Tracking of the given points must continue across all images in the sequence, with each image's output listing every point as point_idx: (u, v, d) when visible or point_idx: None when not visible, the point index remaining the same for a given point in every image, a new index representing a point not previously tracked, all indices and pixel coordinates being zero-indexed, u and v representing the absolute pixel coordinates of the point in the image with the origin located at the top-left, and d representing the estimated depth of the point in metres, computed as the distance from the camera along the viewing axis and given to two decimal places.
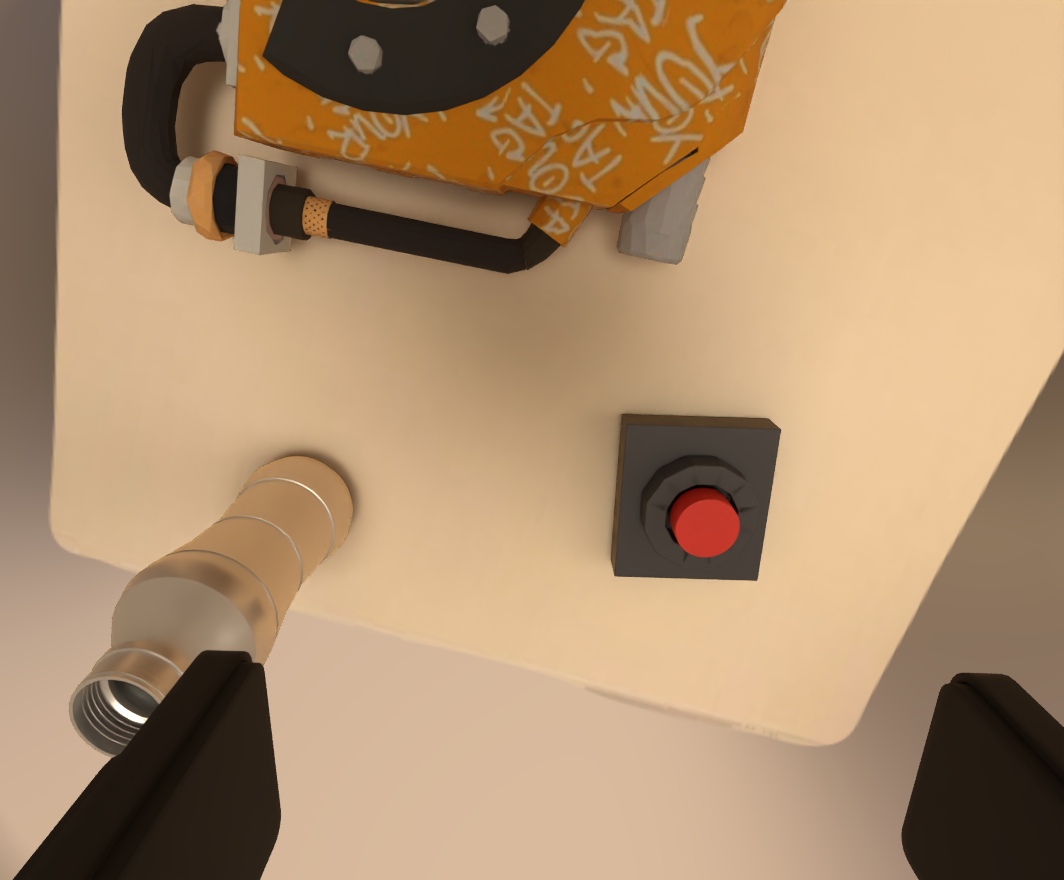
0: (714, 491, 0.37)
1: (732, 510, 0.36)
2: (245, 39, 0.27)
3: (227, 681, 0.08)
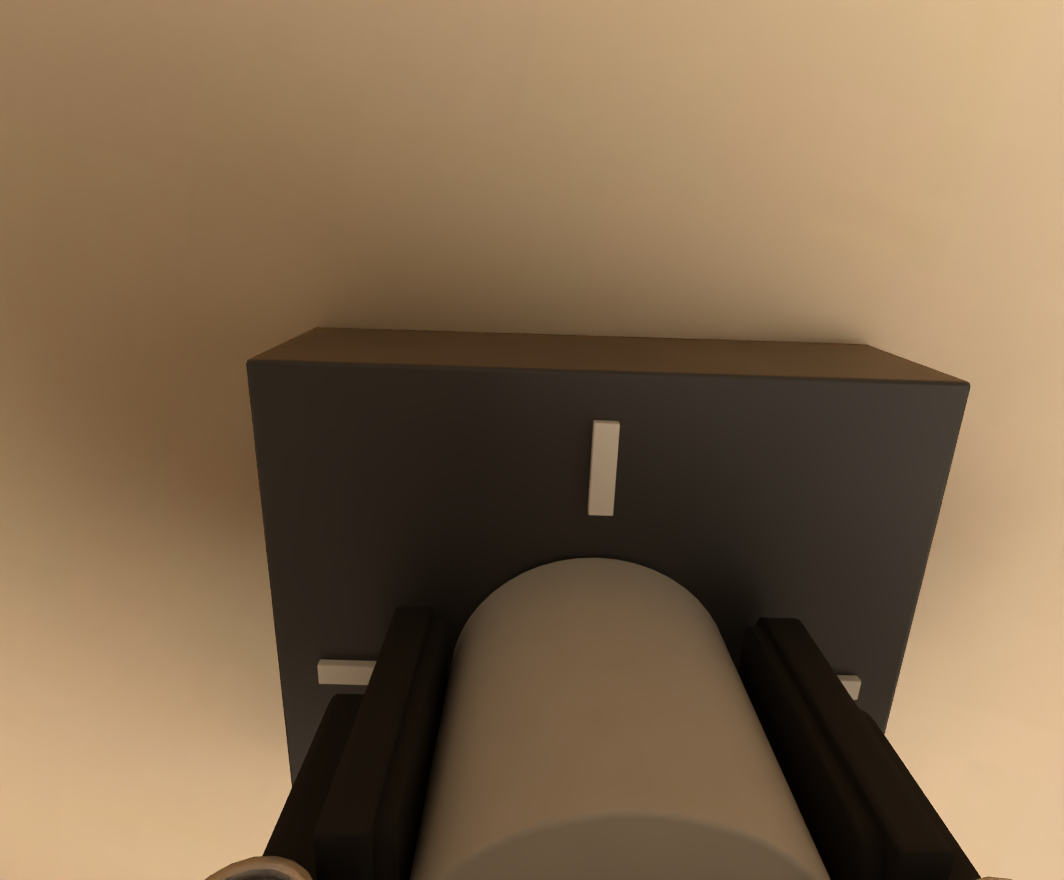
0: None
1: None
2: None
3: (427, 631, 0.09)
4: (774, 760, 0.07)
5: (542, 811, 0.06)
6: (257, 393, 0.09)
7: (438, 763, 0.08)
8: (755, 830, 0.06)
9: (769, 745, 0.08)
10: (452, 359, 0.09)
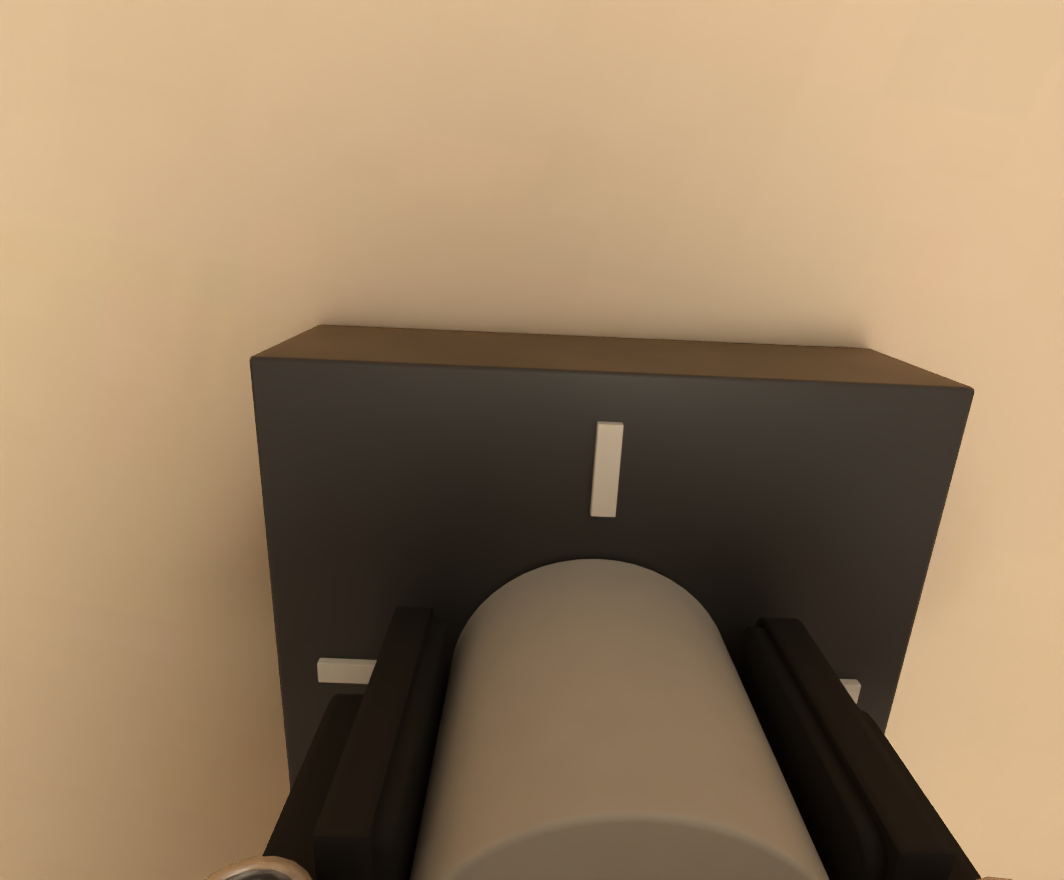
0: None
1: None
2: None
3: (427, 631, 0.09)
4: (775, 763, 0.07)
5: (543, 814, 0.06)
6: None
7: (438, 764, 0.08)
8: (757, 833, 0.06)
9: (769, 748, 0.08)
10: None
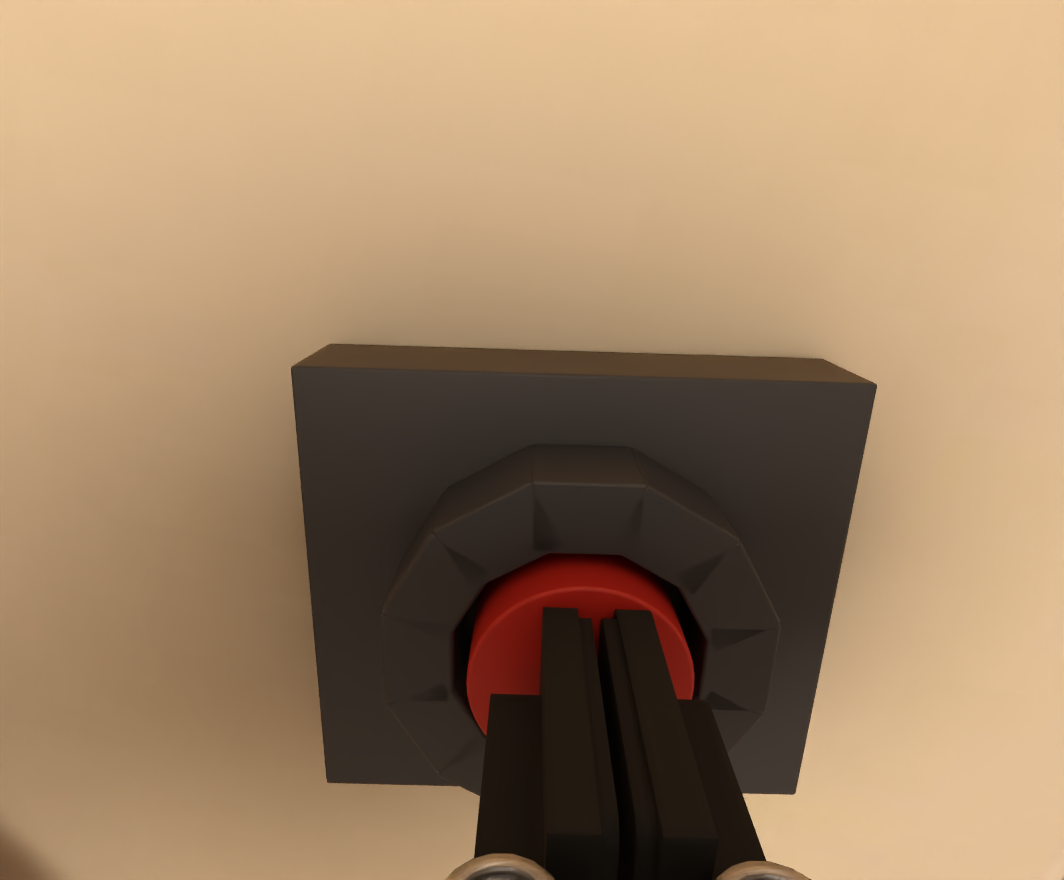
0: (477, 608, 0.11)
1: (506, 619, 0.10)
2: None
3: (579, 632, 0.09)
4: None
5: None
6: None
7: None
8: None
9: None
10: None
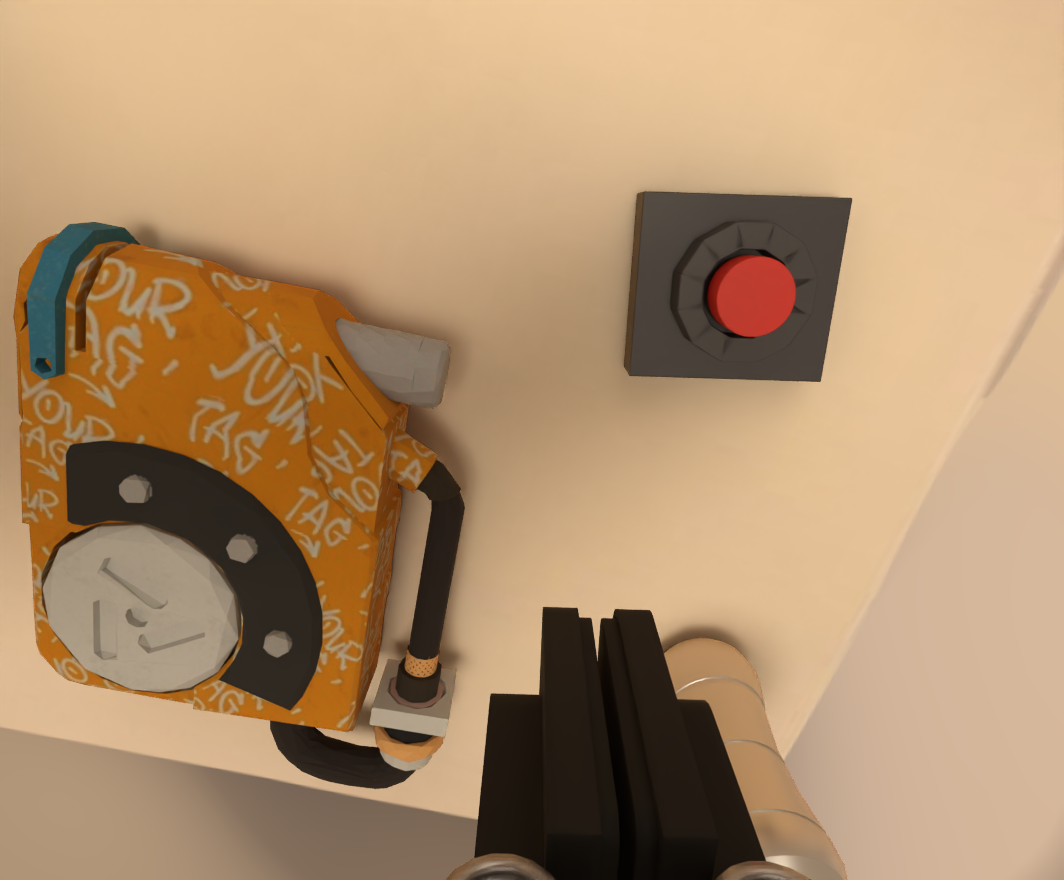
0: (712, 282, 0.31)
1: (733, 268, 0.29)
2: (280, 718, 0.35)
3: (579, 632, 0.09)
4: None
5: None
6: None
7: None
8: None
9: None
10: None
